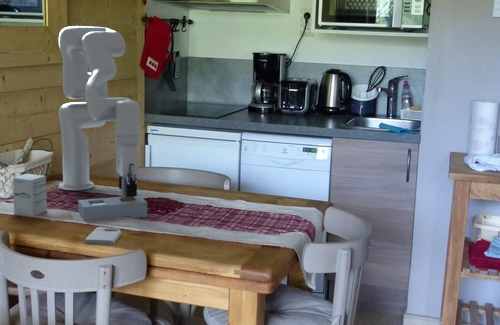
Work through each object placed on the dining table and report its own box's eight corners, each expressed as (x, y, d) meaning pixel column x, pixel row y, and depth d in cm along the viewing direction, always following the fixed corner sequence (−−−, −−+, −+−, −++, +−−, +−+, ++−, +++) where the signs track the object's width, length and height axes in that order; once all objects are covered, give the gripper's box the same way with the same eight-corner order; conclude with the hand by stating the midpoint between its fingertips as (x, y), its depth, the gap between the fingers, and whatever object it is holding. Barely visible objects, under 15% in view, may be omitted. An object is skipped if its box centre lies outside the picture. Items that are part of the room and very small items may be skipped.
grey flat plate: (47, 217, 209) (47, 214, 209) (69, 215, 212) (69, 212, 212) (50, 224, 202) (50, 220, 202) (74, 221, 205) (74, 218, 205)
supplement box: (13, 216, 209) (11, 177, 207) (28, 210, 216) (27, 172, 213) (33, 219, 207) (31, 179, 204) (47, 213, 213) (46, 175, 211)
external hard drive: (84, 244, 186) (96, 231, 198) (113, 246, 186) (123, 232, 198) (84, 239, 186) (96, 226, 198) (113, 240, 186) (123, 227, 198)
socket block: (78, 215, 212) (78, 199, 211) (139, 209, 221) (139, 194, 220) (83, 222, 204) (83, 206, 203) (147, 217, 213) (147, 201, 212)
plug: (121, 207, 215) (121, 174, 213) (132, 207, 216) (131, 173, 214) (124, 210, 212) (124, 176, 210) (134, 209, 213) (134, 176, 211)
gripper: (109, 135, 216) (110, 187, 219) (122, 145, 201) (122, 200, 204) (132, 135, 219) (132, 185, 222) (146, 144, 204) (146, 198, 207)
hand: (127, 192), depth 213 cm, fingers open, 9 cm apart
